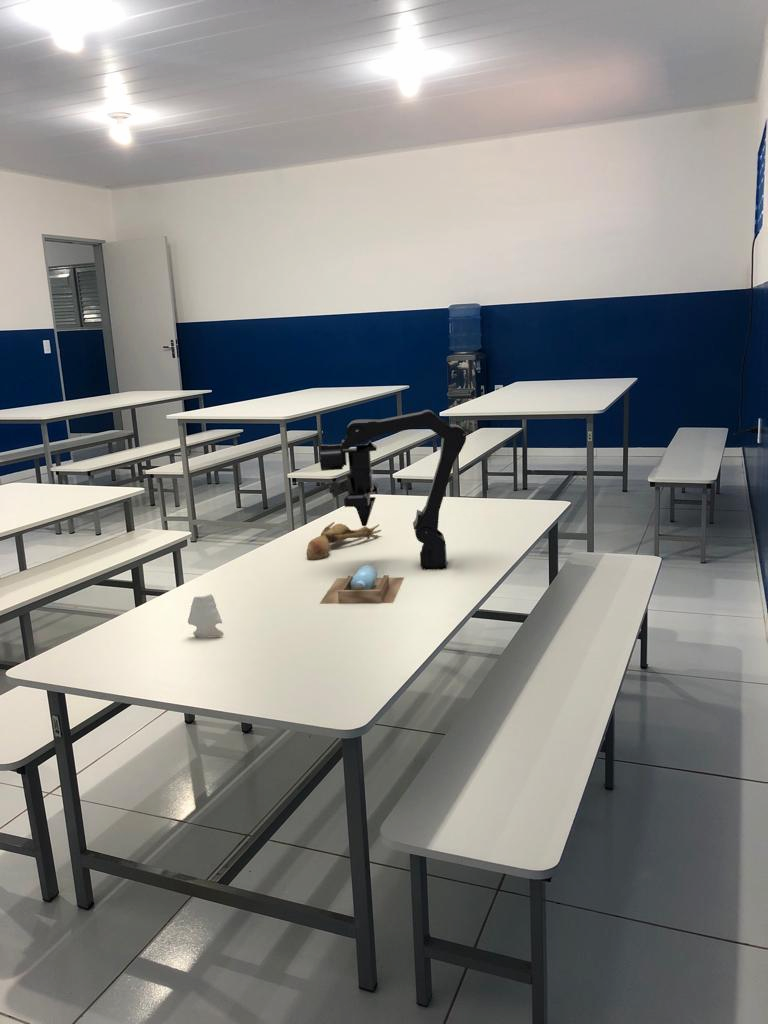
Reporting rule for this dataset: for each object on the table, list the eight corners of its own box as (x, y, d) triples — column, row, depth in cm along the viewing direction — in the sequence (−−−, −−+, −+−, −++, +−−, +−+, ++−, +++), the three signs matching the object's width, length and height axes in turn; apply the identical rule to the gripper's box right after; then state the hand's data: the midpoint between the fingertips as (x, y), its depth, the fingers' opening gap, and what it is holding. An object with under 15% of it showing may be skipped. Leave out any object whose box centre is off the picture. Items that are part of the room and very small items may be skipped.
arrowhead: (187, 639, 187) (182, 596, 185) (191, 635, 189) (186, 592, 187) (222, 639, 186) (217, 595, 183) (226, 635, 188) (221, 592, 186)
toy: (334, 544, 274) (283, 559, 247) (334, 518, 273) (282, 530, 246) (382, 547, 266) (334, 563, 239) (382, 520, 265) (333, 533, 238)
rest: (404, 579, 219) (403, 566, 218) (393, 605, 200) (392, 590, 199) (337, 580, 222) (336, 567, 222) (319, 605, 203) (318, 591, 202)
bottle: (374, 563, 213) (365, 577, 202) (379, 583, 214) (371, 597, 203) (355, 567, 214) (345, 581, 203) (360, 586, 215) (350, 601, 204)
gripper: (337, 463, 232) (342, 518, 235) (322, 475, 214) (327, 535, 217) (377, 461, 230) (381, 517, 233) (365, 474, 212) (369, 534, 216)
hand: (364, 525), depth 225 cm, fingers closed
